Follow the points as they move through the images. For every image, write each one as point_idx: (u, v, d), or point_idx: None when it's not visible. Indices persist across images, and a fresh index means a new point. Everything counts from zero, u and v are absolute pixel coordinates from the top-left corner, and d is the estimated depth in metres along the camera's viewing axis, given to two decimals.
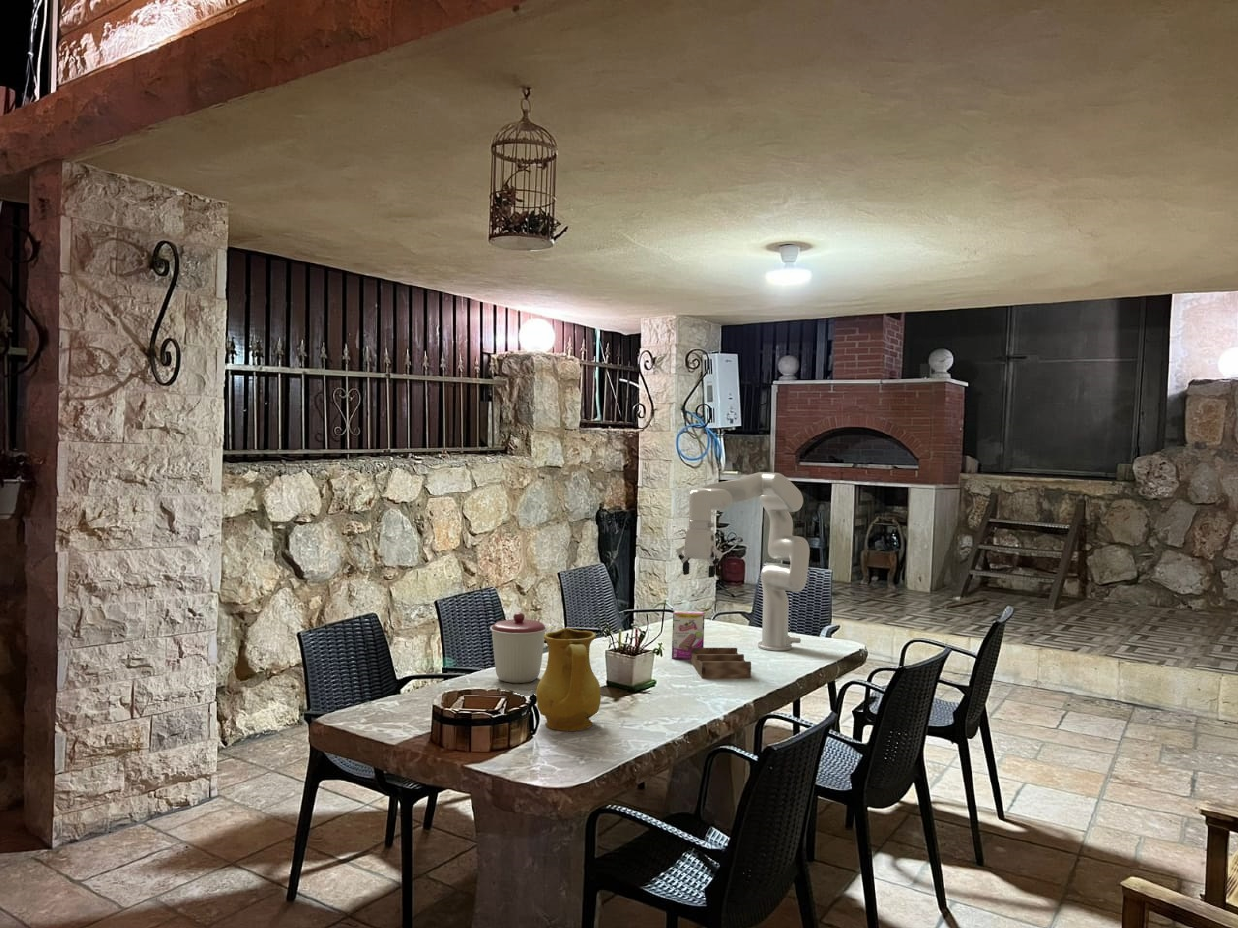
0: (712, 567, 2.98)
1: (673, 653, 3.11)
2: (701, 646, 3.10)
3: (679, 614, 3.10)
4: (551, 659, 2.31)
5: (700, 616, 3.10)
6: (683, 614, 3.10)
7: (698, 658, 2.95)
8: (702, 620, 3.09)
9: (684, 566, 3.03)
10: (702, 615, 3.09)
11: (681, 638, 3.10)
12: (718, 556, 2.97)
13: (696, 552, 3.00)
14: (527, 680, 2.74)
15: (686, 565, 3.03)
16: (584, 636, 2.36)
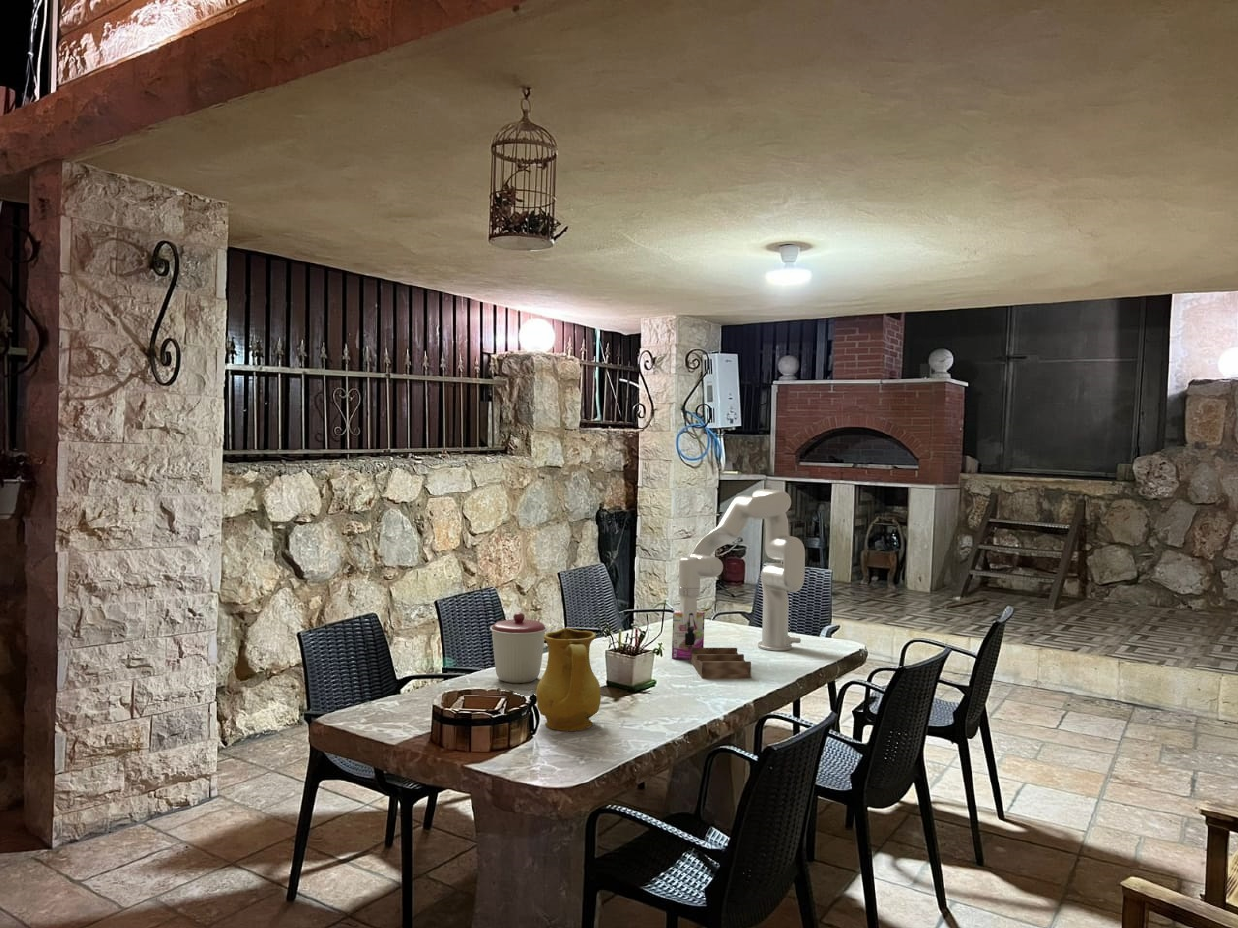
0: None
1: (673, 653, 3.11)
2: (701, 646, 3.10)
3: (679, 614, 3.10)
4: (551, 659, 2.31)
5: (700, 616, 3.10)
6: None
7: (698, 658, 2.95)
8: (702, 620, 3.10)
9: None
10: (702, 615, 3.09)
11: (681, 638, 3.10)
12: None
13: None
14: (527, 680, 2.74)
15: None
16: (584, 636, 2.36)
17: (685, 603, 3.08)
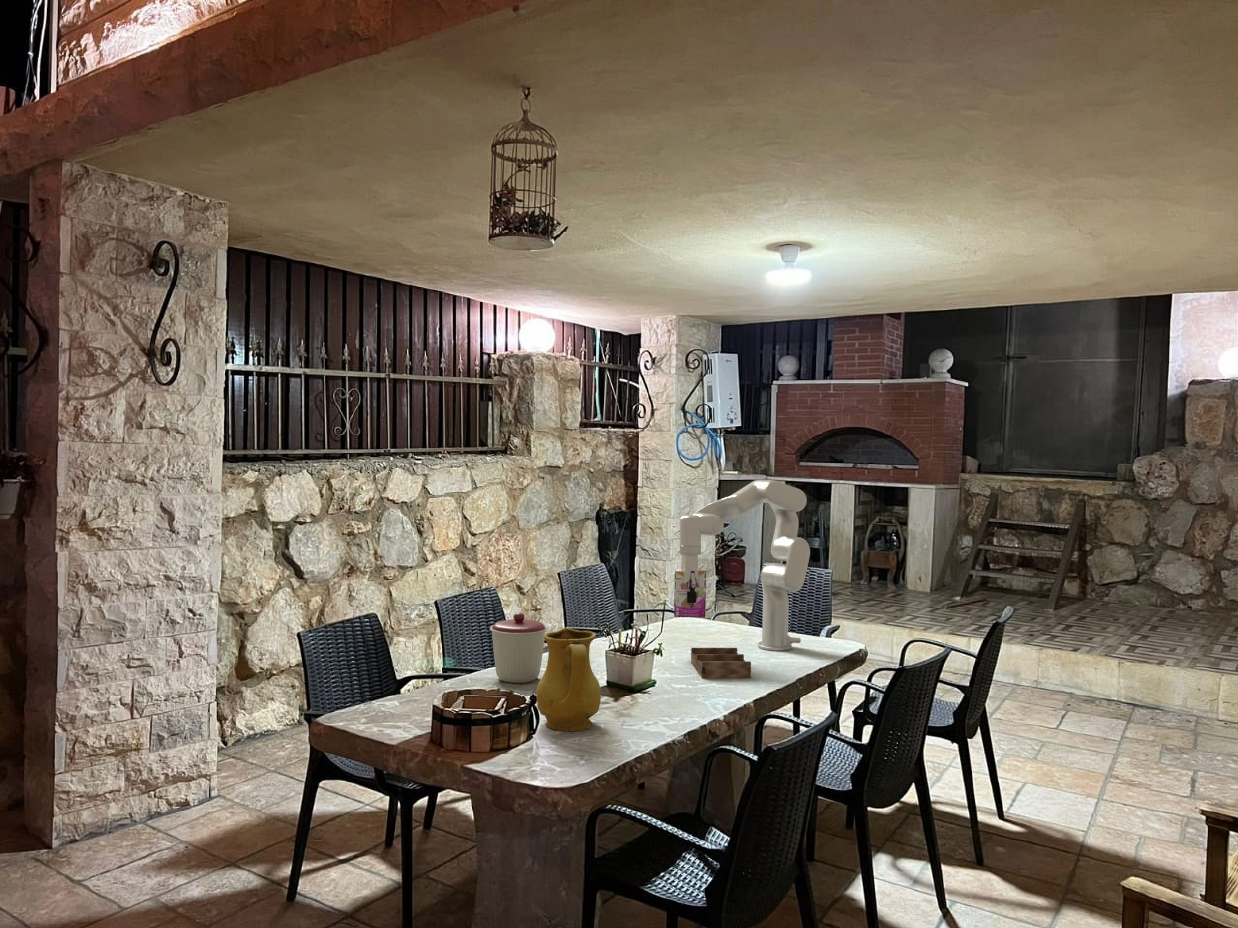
0: None
1: (675, 611, 3.11)
2: (703, 604, 3.10)
3: (681, 572, 3.10)
4: (551, 659, 2.31)
5: (702, 574, 3.09)
6: None
7: (698, 658, 2.95)
8: (704, 578, 3.09)
9: None
10: (704, 573, 3.09)
11: (683, 596, 3.10)
12: None
13: None
14: (527, 680, 2.74)
15: None
16: (584, 636, 2.36)
17: (686, 561, 3.07)
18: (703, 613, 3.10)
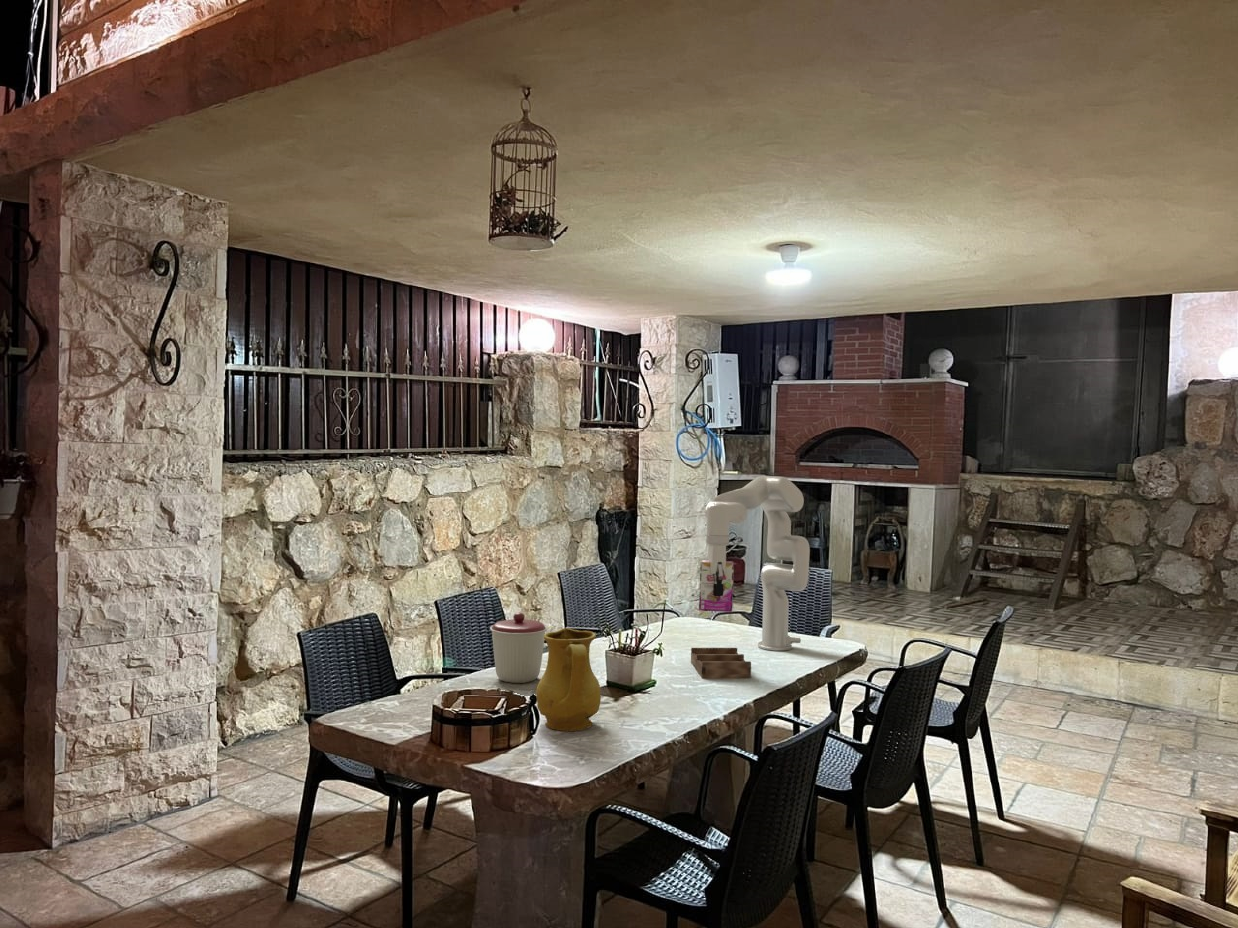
0: None
1: (700, 605, 2.94)
2: (730, 597, 2.93)
3: (707, 563, 2.93)
4: (551, 659, 2.31)
5: (729, 565, 2.93)
6: None
7: (698, 658, 2.95)
8: (731, 570, 2.93)
9: None
10: (731, 564, 2.93)
11: (709, 589, 2.93)
12: None
13: None
14: (527, 680, 2.74)
15: None
16: (584, 636, 2.36)
17: (713, 551, 2.91)
18: (729, 607, 2.93)
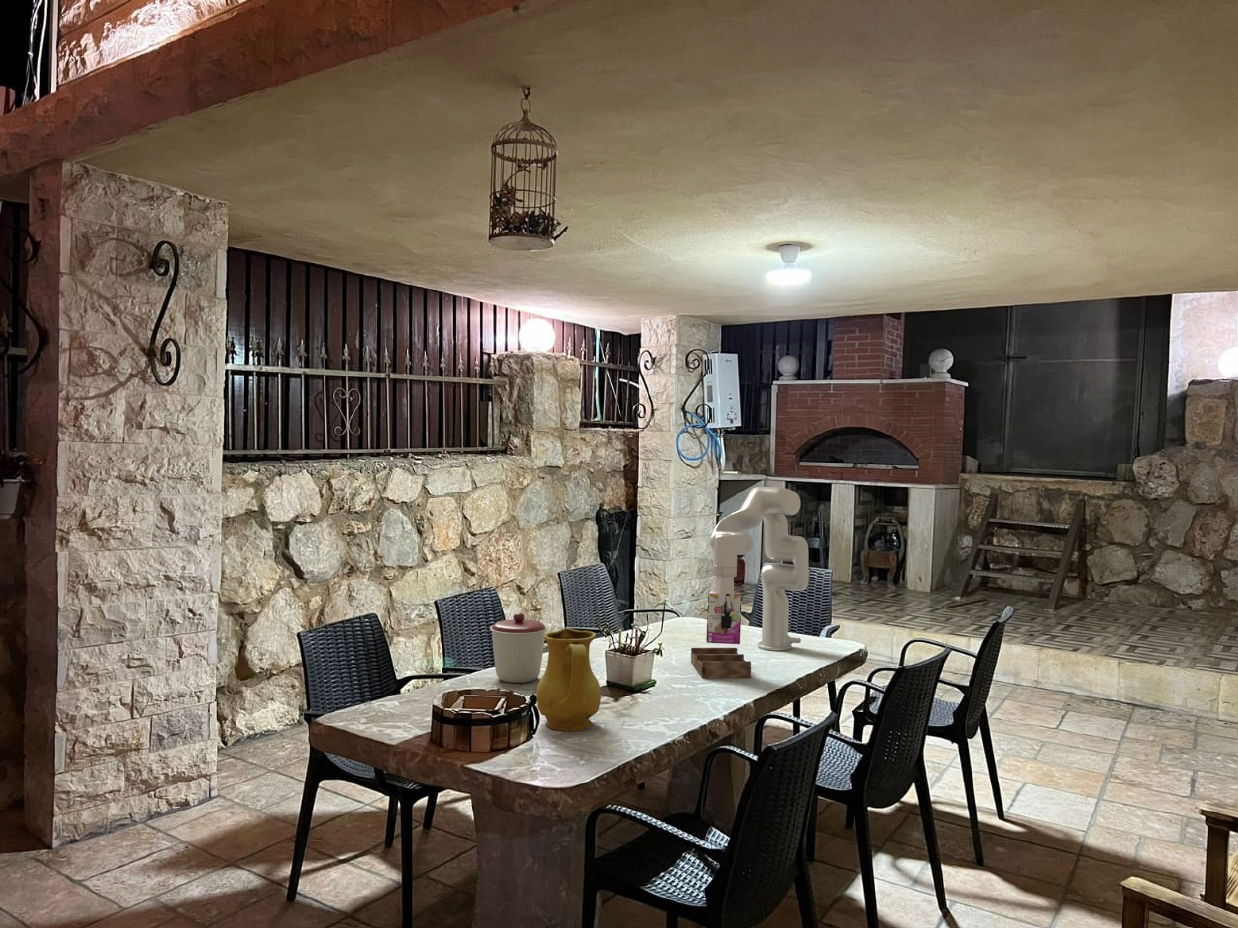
0: None
1: (708, 637, 2.89)
2: (738, 629, 2.88)
3: (714, 595, 2.89)
4: (551, 659, 2.31)
5: (737, 597, 2.88)
6: None
7: (698, 658, 2.95)
8: (739, 601, 2.88)
9: None
10: (739, 596, 2.88)
11: (716, 621, 2.89)
12: None
13: None
14: (527, 680, 2.74)
15: None
16: (584, 636, 2.36)
17: (721, 583, 2.86)
18: (737, 639, 2.88)
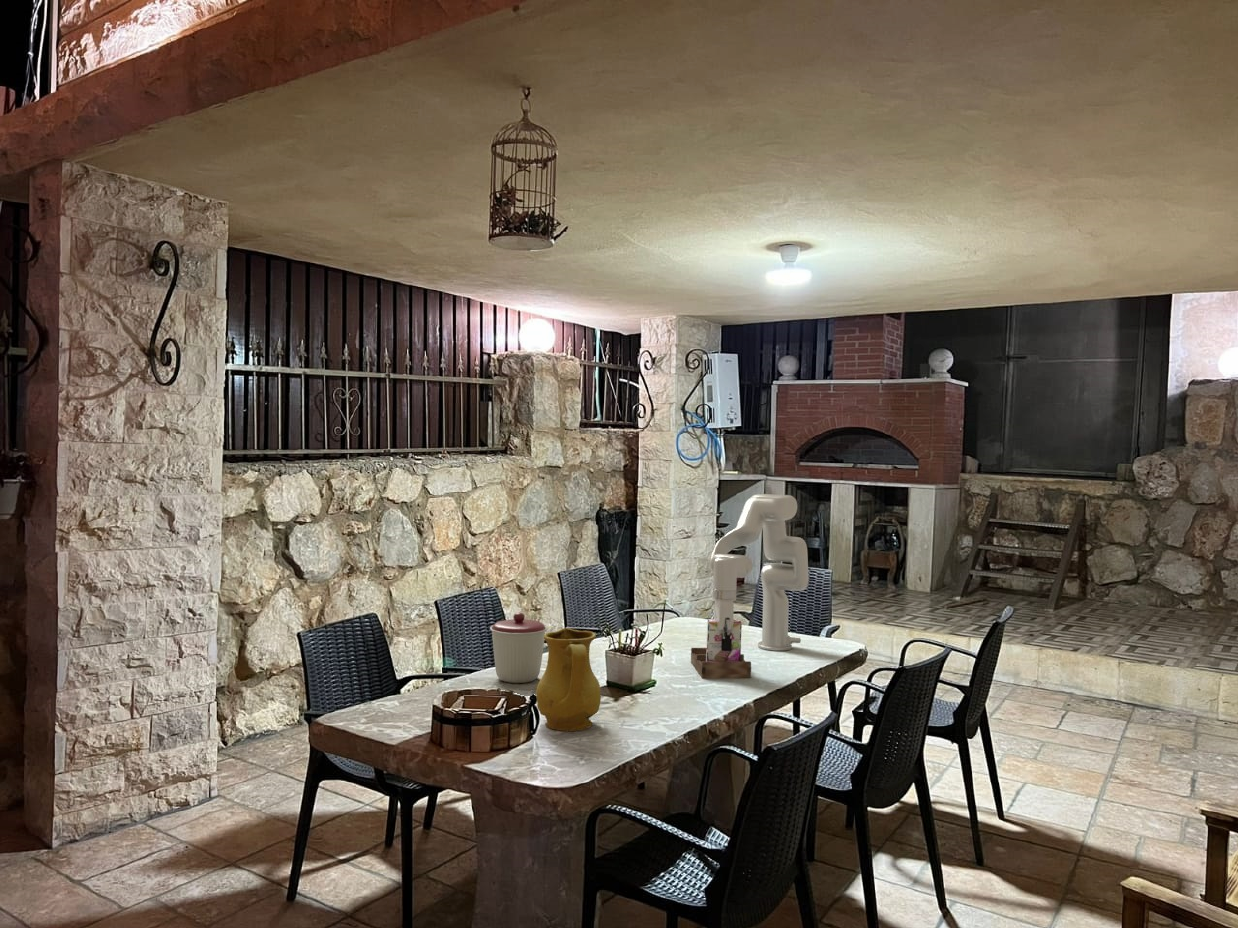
0: None
1: None
2: (738, 657, 2.89)
3: (714, 623, 2.89)
4: (551, 659, 2.31)
5: (737, 625, 2.88)
6: None
7: (698, 658, 2.95)
8: (739, 629, 2.88)
9: None
10: (739, 624, 2.88)
11: (716, 649, 2.89)
12: None
13: None
14: (527, 680, 2.74)
15: None
16: (584, 636, 2.36)
17: (721, 607, 2.86)
18: None
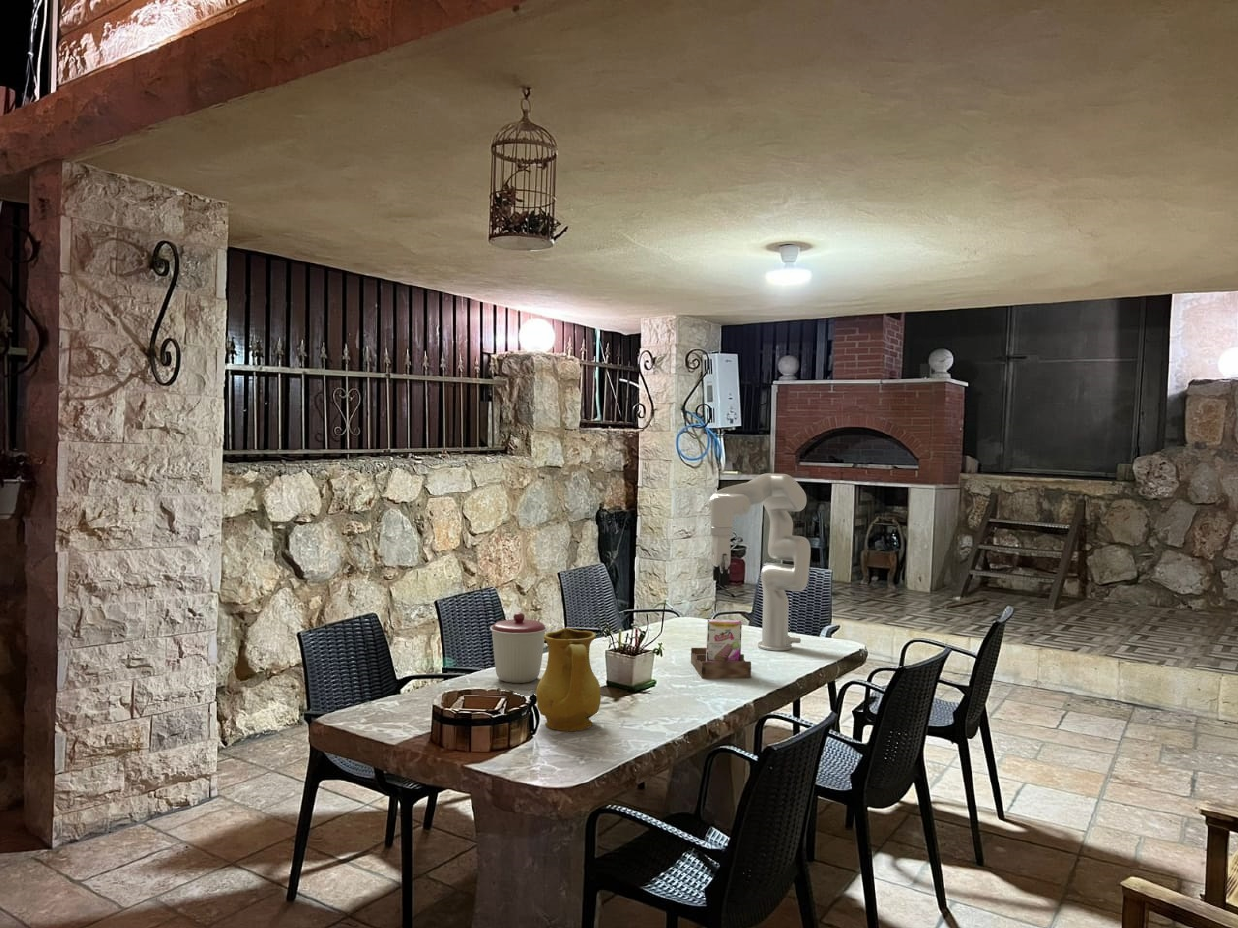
0: None
1: None
2: (738, 657, 2.89)
3: (714, 623, 2.89)
4: (551, 659, 2.31)
5: (737, 625, 2.88)
6: (719, 623, 2.89)
7: (698, 658, 2.95)
8: (739, 629, 2.88)
9: None
10: (739, 624, 2.88)
11: (716, 649, 2.89)
12: None
13: None
14: (527, 680, 2.74)
15: None
16: (584, 636, 2.36)
17: (718, 543, 2.93)
18: None
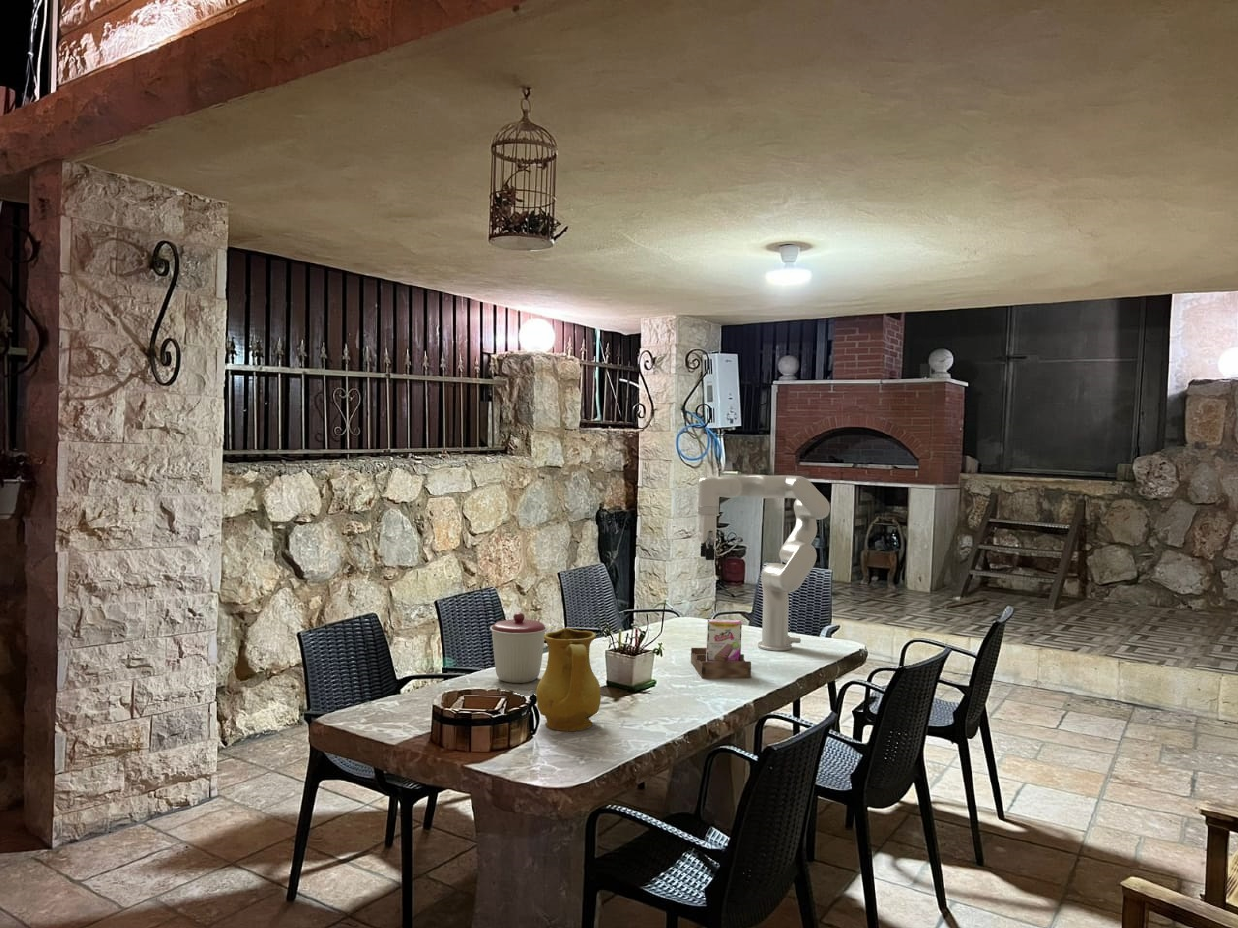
0: None
1: None
2: (738, 657, 2.89)
3: (714, 623, 2.89)
4: (551, 659, 2.31)
5: (737, 625, 2.88)
6: (719, 623, 2.89)
7: (698, 658, 2.95)
8: (739, 629, 2.88)
9: None
10: (739, 624, 2.88)
11: (716, 649, 2.89)
12: None
13: None
14: (527, 680, 2.74)
15: None
16: (584, 636, 2.36)
17: (705, 521, 3.17)
18: None
